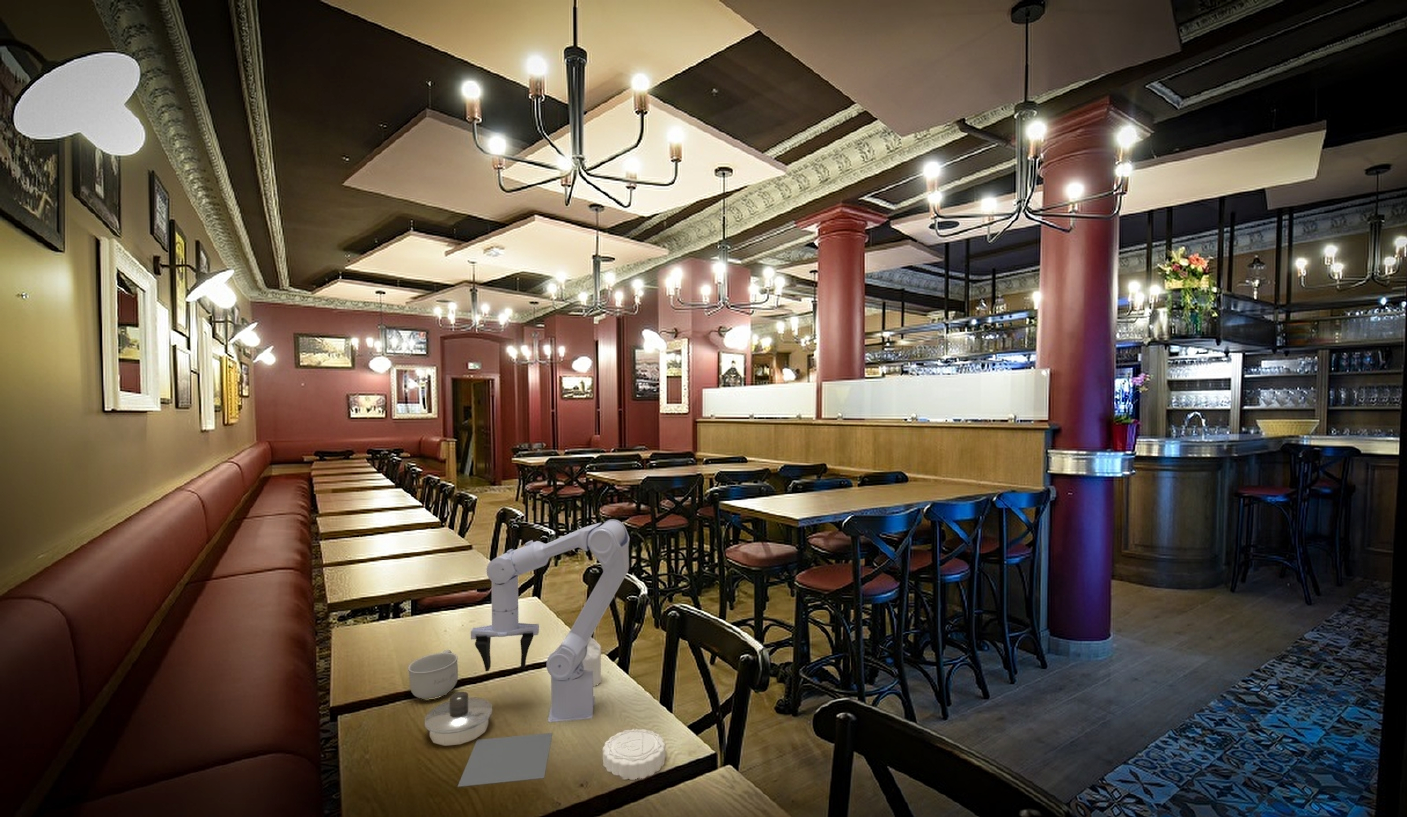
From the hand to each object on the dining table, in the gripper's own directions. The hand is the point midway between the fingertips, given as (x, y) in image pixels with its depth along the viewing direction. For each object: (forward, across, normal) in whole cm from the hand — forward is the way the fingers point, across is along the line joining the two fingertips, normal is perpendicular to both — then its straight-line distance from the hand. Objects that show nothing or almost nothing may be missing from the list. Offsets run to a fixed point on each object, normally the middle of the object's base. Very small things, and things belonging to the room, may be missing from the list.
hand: (505, 668), depth 132 cm
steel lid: (+6, -8, -8) cm, 13 cm away
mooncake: (+10, +28, -24) cm, 38 cm away
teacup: (+10, -18, +12) cm, 24 cm away
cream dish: (+9, -8, -8) cm, 15 cm away
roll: (+10, +18, +10) cm, 23 cm away
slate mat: (+9, +4, -20) cm, 22 cm away
